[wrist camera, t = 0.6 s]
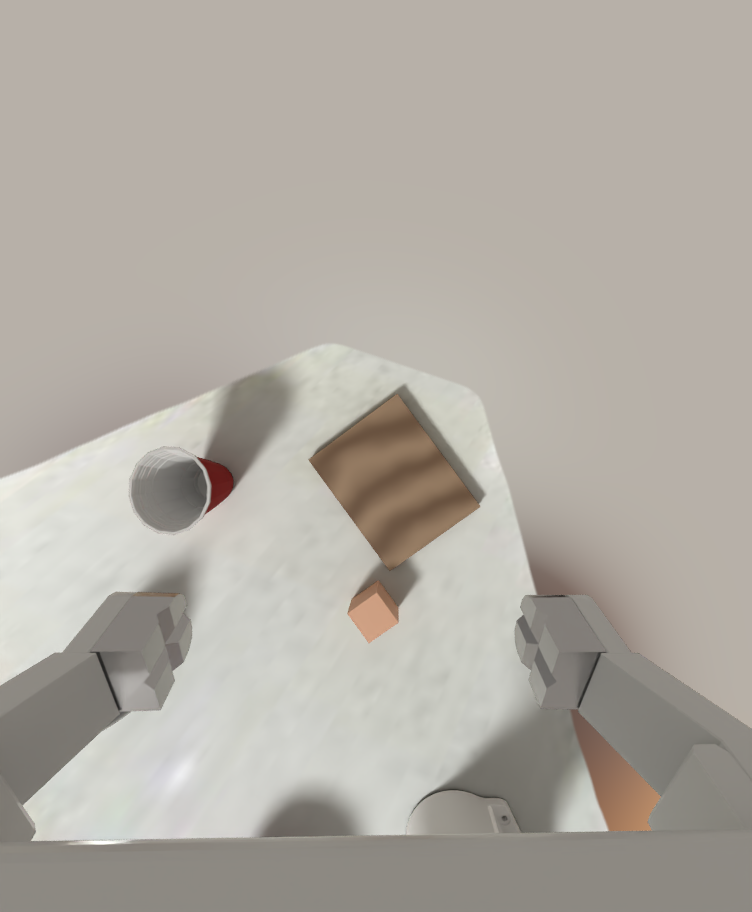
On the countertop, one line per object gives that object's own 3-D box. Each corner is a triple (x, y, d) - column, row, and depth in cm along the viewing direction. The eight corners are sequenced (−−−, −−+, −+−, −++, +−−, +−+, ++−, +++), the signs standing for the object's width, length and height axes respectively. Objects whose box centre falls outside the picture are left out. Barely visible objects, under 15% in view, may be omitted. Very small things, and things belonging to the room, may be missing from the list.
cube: (398, 607, 57) (398, 622, 52) (371, 626, 58) (368, 643, 53) (378, 580, 57) (376, 592, 52) (351, 599, 58) (347, 613, 53)
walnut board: (478, 505, 56) (480, 506, 55) (389, 567, 57) (389, 571, 56) (397, 395, 56) (397, 393, 55) (310, 459, 57) (308, 459, 56)
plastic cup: (189, 438, 58) (135, 435, 46) (256, 456, 58) (220, 459, 46) (171, 507, 59) (114, 522, 47) (238, 526, 58) (198, 546, 46)
